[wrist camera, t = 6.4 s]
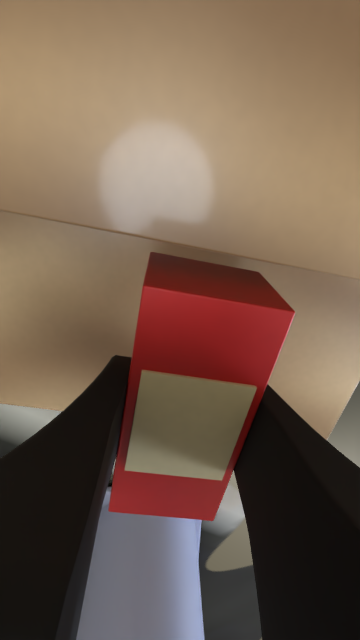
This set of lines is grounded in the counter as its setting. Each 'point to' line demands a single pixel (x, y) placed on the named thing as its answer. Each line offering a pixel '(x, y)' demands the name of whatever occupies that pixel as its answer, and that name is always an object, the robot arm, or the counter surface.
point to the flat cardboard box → (177, 179)
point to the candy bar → (194, 384)
